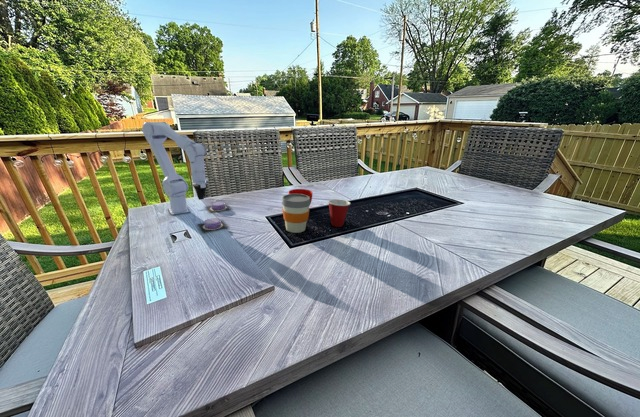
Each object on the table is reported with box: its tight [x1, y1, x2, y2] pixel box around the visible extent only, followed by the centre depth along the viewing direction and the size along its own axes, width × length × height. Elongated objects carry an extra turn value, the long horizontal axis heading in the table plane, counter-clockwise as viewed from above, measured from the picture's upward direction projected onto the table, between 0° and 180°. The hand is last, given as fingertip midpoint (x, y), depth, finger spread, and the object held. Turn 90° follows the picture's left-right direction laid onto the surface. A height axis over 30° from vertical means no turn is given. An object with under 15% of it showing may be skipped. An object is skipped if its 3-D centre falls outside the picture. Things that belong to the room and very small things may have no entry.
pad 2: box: [197, 220, 228, 234], centre depth 118 cm, size 10×10×1 cm
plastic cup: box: [327, 198, 351, 228], centre depth 125 cm, size 11×11×12 cm
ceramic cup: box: [288, 188, 313, 207], centre depth 141 cm, size 13×17×10 cm
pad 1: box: [205, 204, 231, 214], centre depth 140 cm, size 10×10×1 cm
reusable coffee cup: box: [281, 193, 311, 234], centre depth 118 cm, size 13×12×15 cm
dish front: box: [203, 217, 222, 229], centre depth 118 cm, size 7×7×2 cm
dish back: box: [210, 201, 226, 210], centre depth 140 cm, size 7×7×3 cm
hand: (201, 199), depth 124 cm, fingers closed
